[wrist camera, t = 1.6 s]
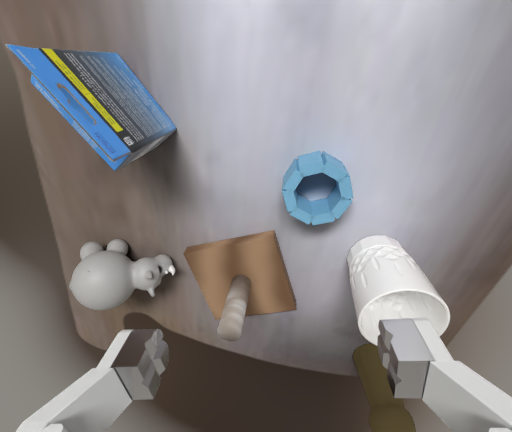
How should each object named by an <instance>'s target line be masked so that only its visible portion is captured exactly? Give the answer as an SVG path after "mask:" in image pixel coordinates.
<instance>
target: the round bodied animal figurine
mask: <svg viewBox="0 0 512 432" xmlns="http://www.w3.org/2000/svg"><path fill="white" fill-rule="evenodd" d="M127 252H128V244H127V243H126V242H125V241H123V240H121V239H114V240H112V241H111V242H109V244H108V246H107V251H103V247H102V245H101V244H99V243H97V242H93V241H92V242H87V243H86V244H84V245H83V246H82V248H81V251H80V256H81V259H82V261H81V262H80V263H79V264H78V266H77V267H76V269H75V270H74V273H73V275H72V280H71V282H70V284H69V288H70V290H71V291H72V292H73V294H74V296H75V297H76V299H77V300H78V301H79V302H80V303H81V304H82V305H84V306H86V307H88V308H91V309H95V310H107V309H111V308H114V307H117V306H119V305H121V304H122V303H124V302H125V301H126V300H127V299H128V298H129V297H130V296H131V294H132V293H133V291H134V290H135V289H140V290H147V291H148V292H149V294H150V295H151V296H152V297H154V296H155V293H154V289H155V288H156V287H157V286H158V285H160V283H161V279H162V277H163V276H164V275H166V274H168V273H169V272H171V273H172V276H173V275H174V274H175V268H174V266H173V262H172V260H171V258H170V257H169V256H167V255H164V254H162V255H158V256H156V257H154V258H149V257H145V258H141V259H139V260H138V261H136V262H133V261H131V260H130V259H129V258H128V257H127V256H126V254H127Z"/></svg>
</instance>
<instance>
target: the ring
mask: <svg viewBox="0 0 512 432" xmlns="http://www.w3.org/2000/svg"><path fill="white" fill-rule="evenodd" d="M322 172H323V173H324V174H326V175H328V176H330V177H331V178H333V179H335V180H336V187H335V188H334V189H333V191H332V192H331V193H330V195H329V196H328V197H327V198H325V199H320V200H315V201H309V200H307V199H305V198H304V197H302V196H300V195H298V194H297V191H296V187H297V186H298V184H299V183H300V181H301V180H302V178H303V177H305V176H309V175H314V174H318V173H322ZM282 193H283V197H284V200H285V204H286V208H287V211H288V212H290V215H291V216H293V217H295V218H297V219H299V220H301V221H302V222H304V223H306V224H308V225H309V224H310V223H311V221H312V226H313V225H318V224H323V223H328V222H333V221H335V220H334V217H335V218H337V219H339V218H340V216H341V215H342V214H343V213H344V211H345V210H346V209H347V208H348V206H349V205H350V204H351V203H352V200H351V199H352V198H353V193H352V187H351V181H350V176H349V174H348V172H347V170H346V168H345V166H344V165H343V163H342V162H341V161H339V160H337V159H336V158H334V157H332V156H331V155H329V154H327V153H325V152H323V153H322V155H321V153H320V151H317V152H313V153H310V154H306V155H302V156H298V160H297V159H294V161H293V163H292V164H291V166H290V167H289V169H288V171H287V172H286V174H285V175H284V179H283V189H282Z"/></svg>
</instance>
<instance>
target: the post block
mask: <svg viewBox="0 0 512 432" xmlns="http://www.w3.org/2000/svg"><path fill="white" fill-rule="evenodd" d="M184 256H185V258H186V260H187V262H188V264H189V266H190V268H191V270H192V272H193V274H194V276H195V278H196V280H197V282H198V285H199V287H200V289H201V291H202V293H203V295H204V297H205V299H206V301H207V303H208V305H209V307H210V309H211V311H212V313H213V315H214V317H215V319H216V320H217V319H220V323H219V326H218V329H217V333H218V335H219V336H220V337H221V338H222V339H224V340H227V341H235V340H238V339H239V338H240V337H241V333H242V328H243V322H244V317H245V316H250V315H258V314H266V313H274V312H283V311H291V310H296V300H295V296H294V293H293V290H292V287H291V283H290V280H289V277H288V274H287V270H286V267H285V264H284V261H283V257H282V254H281V251H280V247H279V244H278V241H277V238H276V234H275V231H274V230H273V231H268V232H263V233H258V234H253V235H248V236H242V237H237V238H232V239H227V240H222V241H217V242H212V243H206V244H201V245H196V246H191V247H187V249H186V250H185V252H184Z"/></svg>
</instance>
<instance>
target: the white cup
mask: <svg viewBox="0 0 512 432" xmlns="http://www.w3.org/2000/svg"><path fill="white" fill-rule="evenodd" d="M347 261H348V266H349V273H350V276H349V278H350V285H351V289H352V296H353V301H354V306H355V311H356V317H357V322H358V327H359V330H360V332H361V334H362V335H363V336H364V338H365V339H367V340H368V341H369V342H371V343H372V344H374V345H376V346H378V344H377V342H378V336H379V335H380V334H381V333H380V331H379V328H378V325H379V321H380V320H385V319H404V318H409V319H410V318H427V319H428V320H429V321H430V322H431V324H432V325H433V327H434V329H435V330H436V332H437V334H438V335H439V337H440V336H441V335H442V334H443V333H444V331H445V330H446V329H447V327H448V325H449V321H450V312H449V309H448V307H447V305H446V303H445V302H444V301H443V299H442V298H441V297H440V295H439V294H438V292H437V291H436V290H435V288H434V287H433V285H432V284H431V283H430V281H429V280H428V278H427V277H426V276H425V274H424V273H423V272H422V271H421V269H420V268H419V267H418V265H417V264H416V263H415V262H414V260H413V259H412V257H411V256H410V255H408V254H407V252H406V251H405V249H404V248H403V247H402V246H401V245H400V243H399V242H398V241H397V240H395V239H393V238H390V237H388V236H385V235H379V236H369V237H367V238H364V239H361V240H359V241H358V242H357V243H356V244H355V245H354V246H353V247H352V248H351V249H350V251H349V254H348V257H347Z"/></svg>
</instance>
